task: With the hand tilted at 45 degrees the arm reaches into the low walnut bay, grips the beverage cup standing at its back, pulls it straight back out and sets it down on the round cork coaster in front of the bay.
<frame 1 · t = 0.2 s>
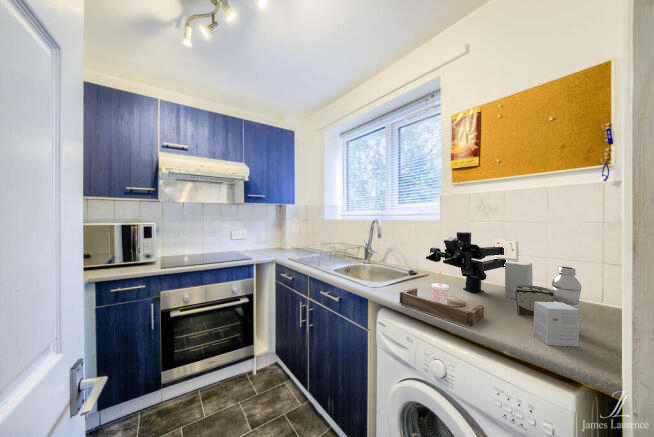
hand: (434, 259, 103), 17 cm above the countertop, tool horizontal, fingers open, 9 cm apart
skincare box: (518, 298, 104), on the countertop
walnut bay: (439, 308, 93), on the countertop
food container: (530, 314, 88), on the countertop
plastic bottle: (565, 332, 75), on the countertop
beverage cup: (439, 308, 93), on the countertop
cork coaster: (451, 302, 99), on the countertop
small box: (554, 341, 69), on the countertop
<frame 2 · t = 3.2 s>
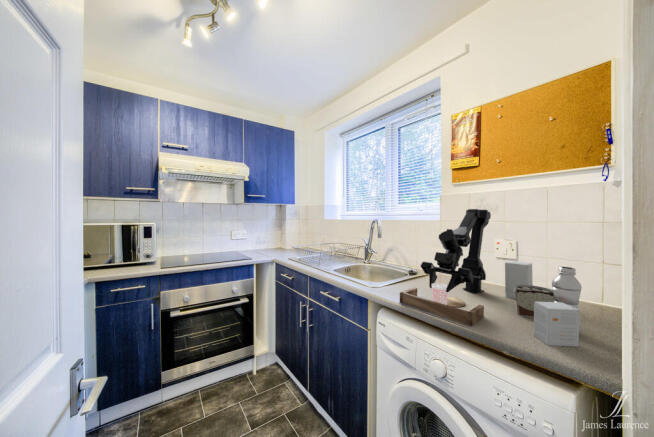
hand: (438, 289, 91), 8 cm above the countertop, tool tilted 45°, fingers closed on beverage cup, 6 cm apart
beverage cup: (439, 308, 93), on the countertop, touching gripper
everything else where it was.
when the fingers open (9 cm above the countertop, at t = 5.9 s): beverage cup stays where it is, resting on cork coaster.
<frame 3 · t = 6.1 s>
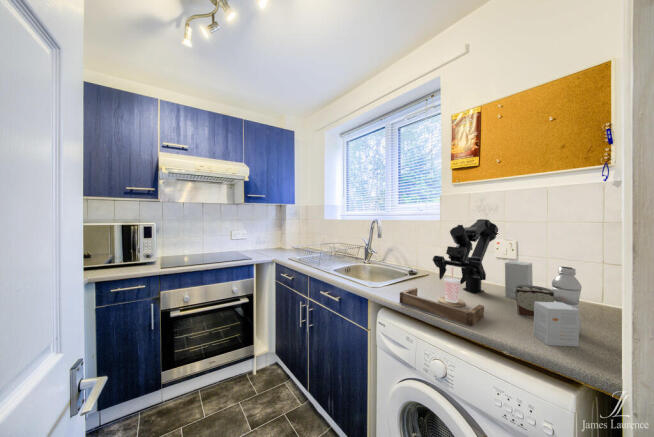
hand: (450, 281, 98), 9 cm above the countertop, tool tilted 45°, fingers open, 8 cm apart
beverage cup: (451, 301, 99), resting on cork coaster
everything else where it was.
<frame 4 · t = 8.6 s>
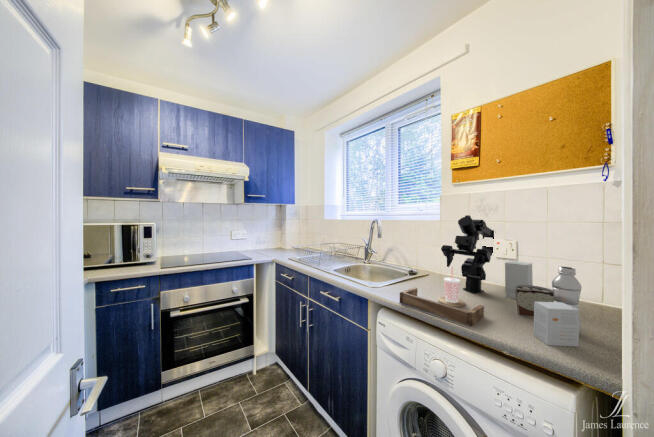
hand: (458, 268, 103), 13 cm above the countertop, tool tilted 45°, fingers open, 9 cm apart
nothing on the countertop moved.
at the end: beverage cup 0.2 cm from the cork coaster (horizontally); beverage cup tilted 0°; beverage cup resting on cork coaster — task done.
